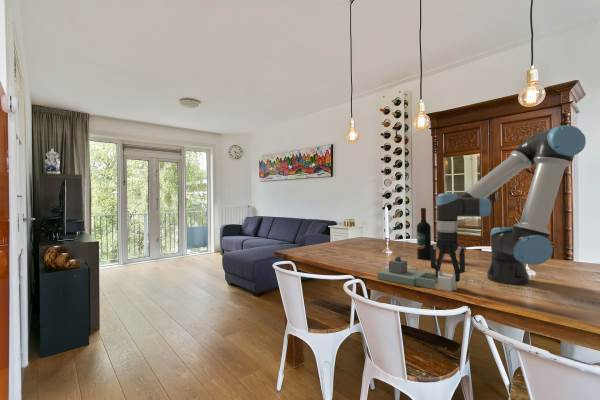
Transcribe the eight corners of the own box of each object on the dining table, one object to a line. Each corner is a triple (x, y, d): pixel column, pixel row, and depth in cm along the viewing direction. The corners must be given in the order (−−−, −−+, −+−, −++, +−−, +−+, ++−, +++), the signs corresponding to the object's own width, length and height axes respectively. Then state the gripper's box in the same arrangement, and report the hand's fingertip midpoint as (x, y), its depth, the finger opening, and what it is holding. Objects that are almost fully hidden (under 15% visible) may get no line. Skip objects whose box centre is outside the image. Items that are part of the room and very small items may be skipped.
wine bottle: (432, 260, 173) (431, 208, 173) (418, 259, 175) (417, 208, 174) (429, 257, 181) (428, 207, 180) (416, 257, 182) (415, 207, 182)
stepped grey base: (445, 282, 130) (445, 259, 130) (433, 290, 120) (432, 265, 120) (392, 272, 148) (392, 252, 148) (377, 278, 138) (377, 257, 138)
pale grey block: (457, 287, 123) (456, 275, 123) (451, 291, 118) (450, 279, 118) (444, 285, 127) (444, 273, 127) (438, 289, 122) (437, 276, 122)
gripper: (474, 232, 118) (475, 290, 119) (428, 228, 131) (428, 281, 132) (469, 234, 113) (469, 295, 114) (421, 230, 126) (421, 285, 126)
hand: (447, 287), depth 123 cm, fingers open, 5 cm apart
